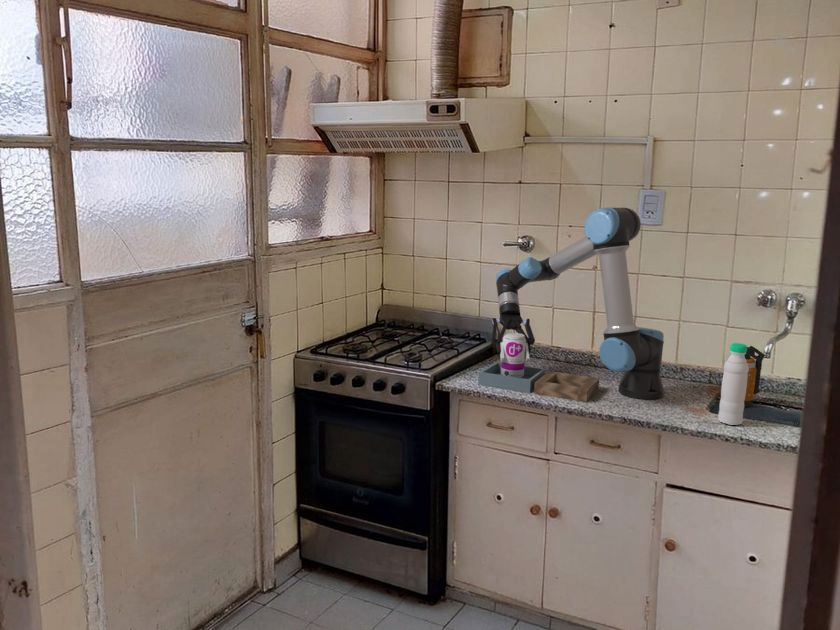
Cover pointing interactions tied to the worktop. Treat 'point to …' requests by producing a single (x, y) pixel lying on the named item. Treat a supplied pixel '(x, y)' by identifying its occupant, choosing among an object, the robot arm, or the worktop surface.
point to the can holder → (567, 386)
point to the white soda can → (513, 355)
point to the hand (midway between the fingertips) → (515, 360)
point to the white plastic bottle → (734, 386)
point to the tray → (510, 378)
